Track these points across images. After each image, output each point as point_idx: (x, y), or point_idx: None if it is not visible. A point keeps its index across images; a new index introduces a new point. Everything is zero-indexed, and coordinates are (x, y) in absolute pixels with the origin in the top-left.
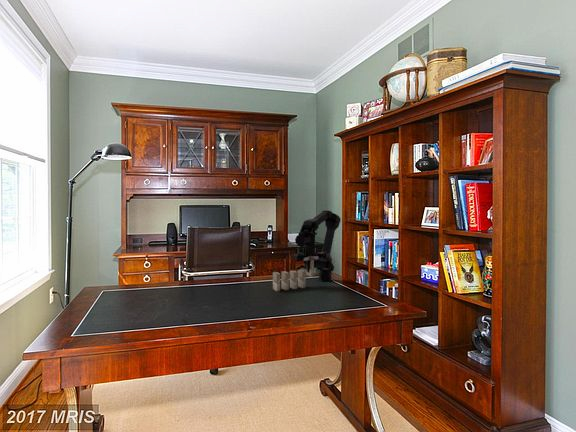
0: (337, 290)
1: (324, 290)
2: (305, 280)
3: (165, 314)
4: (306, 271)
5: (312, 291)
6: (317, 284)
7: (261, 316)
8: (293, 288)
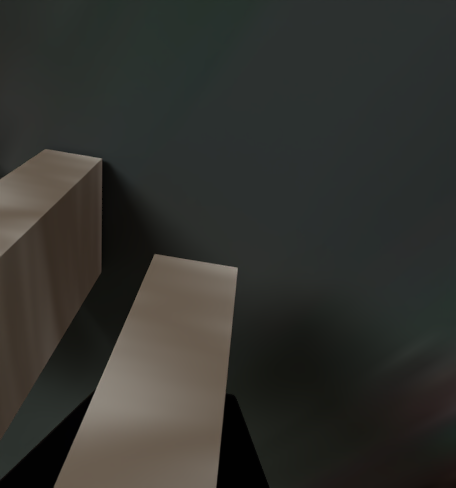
0: (335, 482)
1: None
2: (61, 337)
3: None
4: (131, 318)
5: None
6: (379, 212)
7: None
8: None
